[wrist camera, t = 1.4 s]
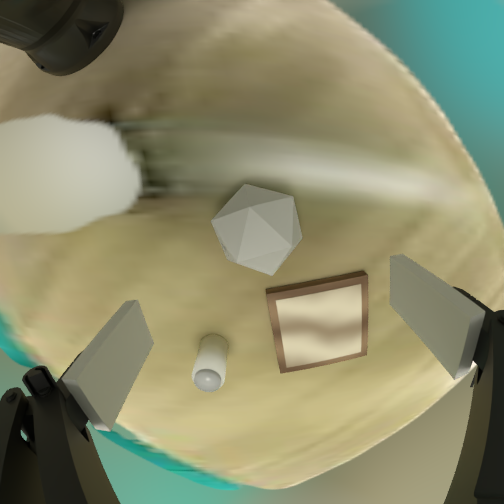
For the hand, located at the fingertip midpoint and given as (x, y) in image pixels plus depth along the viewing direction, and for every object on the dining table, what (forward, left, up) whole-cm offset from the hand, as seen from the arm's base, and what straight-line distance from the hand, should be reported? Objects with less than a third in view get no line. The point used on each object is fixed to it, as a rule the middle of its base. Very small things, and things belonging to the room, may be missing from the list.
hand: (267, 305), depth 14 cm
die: (0, 0, -21) cm, 21 cm away
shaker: (+16, -9, -20) cm, 27 cm away
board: (+15, +6, -20) cm, 26 cm away
